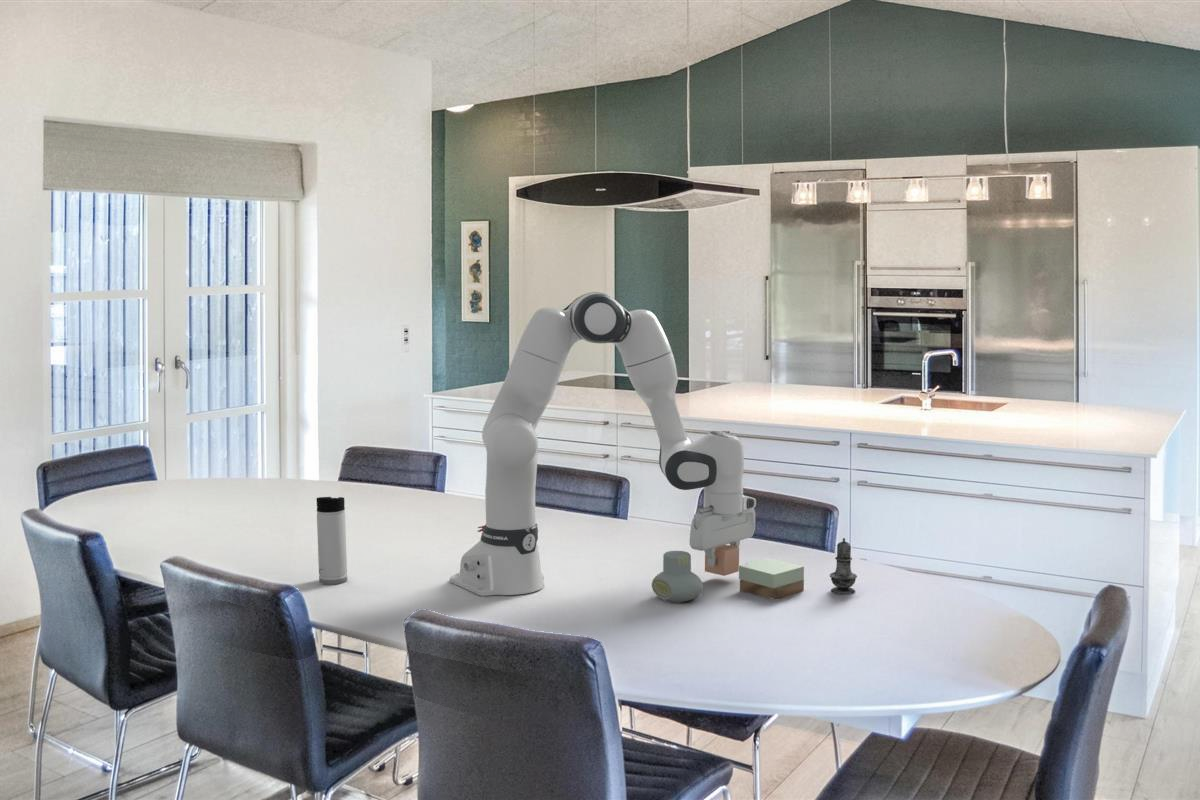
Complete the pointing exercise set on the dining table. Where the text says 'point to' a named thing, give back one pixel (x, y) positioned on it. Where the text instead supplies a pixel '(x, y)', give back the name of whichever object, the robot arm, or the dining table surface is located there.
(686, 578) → the air freshener
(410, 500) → the dining table surface
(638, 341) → the robot arm
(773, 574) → the sage top block
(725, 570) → the terracotta block
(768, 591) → the walnut base block
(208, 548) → the dining table surface
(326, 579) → the travel mug
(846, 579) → the dark turned finial
